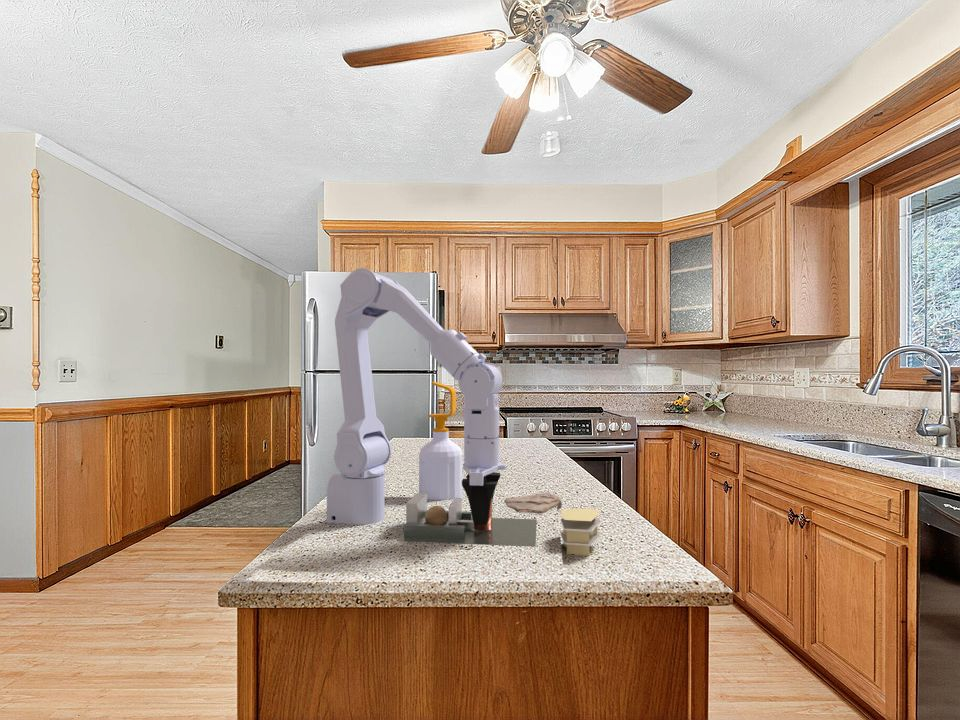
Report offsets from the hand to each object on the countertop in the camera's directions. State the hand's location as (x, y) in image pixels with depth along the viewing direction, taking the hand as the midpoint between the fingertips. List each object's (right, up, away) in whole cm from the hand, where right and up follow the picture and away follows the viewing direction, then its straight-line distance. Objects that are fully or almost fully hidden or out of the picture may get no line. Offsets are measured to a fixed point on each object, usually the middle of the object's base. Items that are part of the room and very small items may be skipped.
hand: (481, 521), depth 85 cm
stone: (+10, -4, +16) cm, 19 cm away
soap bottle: (-8, -3, +24) cm, 26 cm away
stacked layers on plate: (+15, -3, -5) cm, 16 cm away
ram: (-2, -1, 0) cm, 2 cm away
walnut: (-8, -1, +1) cm, 8 cm away
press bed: (-2, -3, 0) cm, 3 cm away
